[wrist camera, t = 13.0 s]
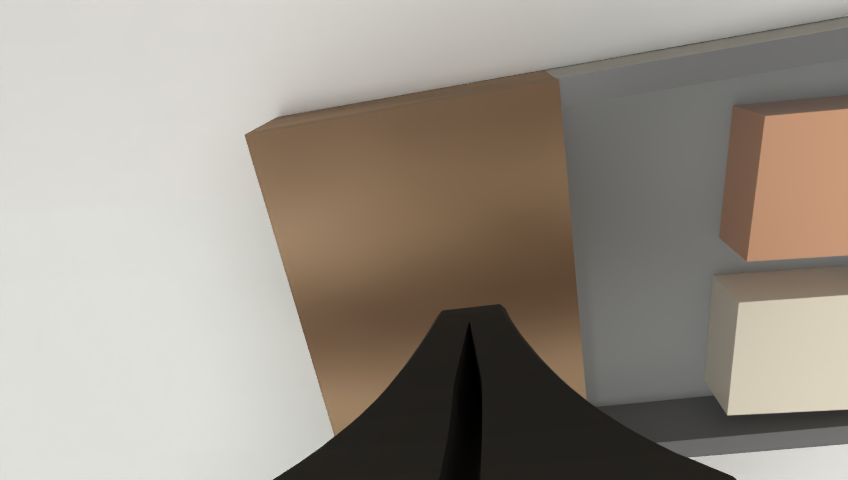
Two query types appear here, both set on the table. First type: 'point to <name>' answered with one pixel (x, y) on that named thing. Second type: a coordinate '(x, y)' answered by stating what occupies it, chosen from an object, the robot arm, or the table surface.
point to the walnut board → (422, 226)
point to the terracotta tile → (787, 180)
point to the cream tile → (779, 341)
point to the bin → (677, 225)
